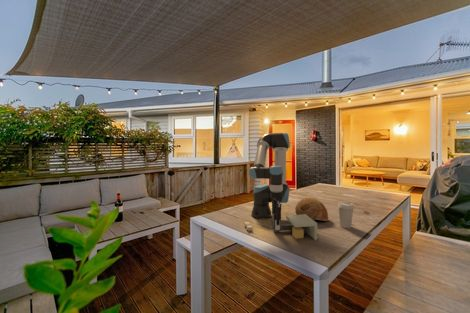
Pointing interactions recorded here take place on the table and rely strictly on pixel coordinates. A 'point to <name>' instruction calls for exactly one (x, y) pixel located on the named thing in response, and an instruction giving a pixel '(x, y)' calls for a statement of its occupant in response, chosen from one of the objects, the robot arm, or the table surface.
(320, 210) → the seashell
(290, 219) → the beige angled piece
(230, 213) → the table surface
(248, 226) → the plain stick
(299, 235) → the cube
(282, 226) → the crook
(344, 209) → the coffee cup
